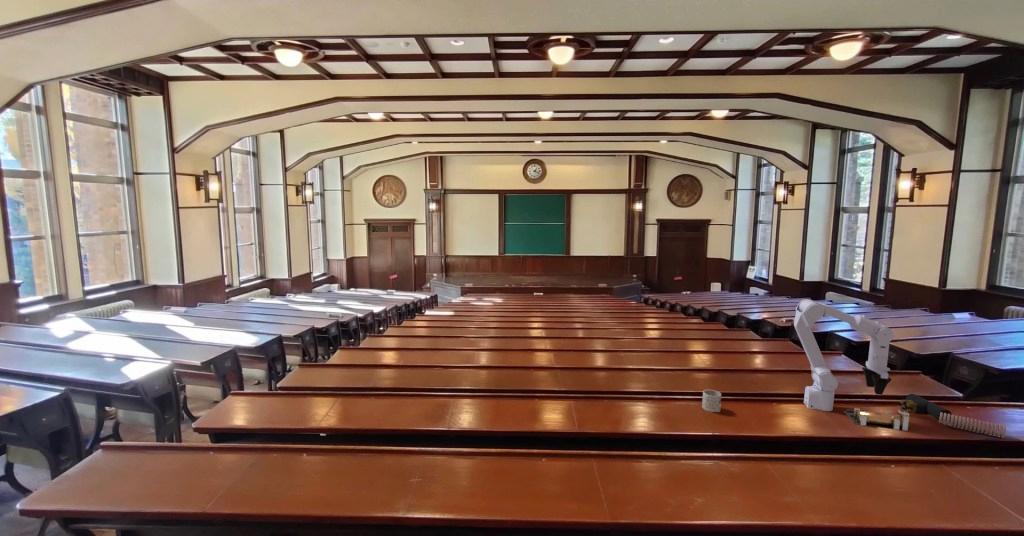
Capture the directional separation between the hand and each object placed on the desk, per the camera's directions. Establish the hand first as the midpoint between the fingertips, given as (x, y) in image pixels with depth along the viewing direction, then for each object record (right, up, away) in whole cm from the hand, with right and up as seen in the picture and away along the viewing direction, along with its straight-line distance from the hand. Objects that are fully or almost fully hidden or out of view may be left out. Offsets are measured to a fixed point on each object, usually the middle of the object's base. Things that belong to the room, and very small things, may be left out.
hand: (874, 390), depth 179 cm
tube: (-4, -10, -8) cm, 14 cm away
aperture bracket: (+1, -10, -11) cm, 16 cm away
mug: (-60, -9, +7) cm, 61 cm away
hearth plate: (-4, -11, -6) cm, 13 cm away
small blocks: (-6, -11, -8) cm, 15 cm away
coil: (+26, -12, -11) cm, 31 cm away
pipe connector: (+20, -10, +3) cm, 23 cm away
